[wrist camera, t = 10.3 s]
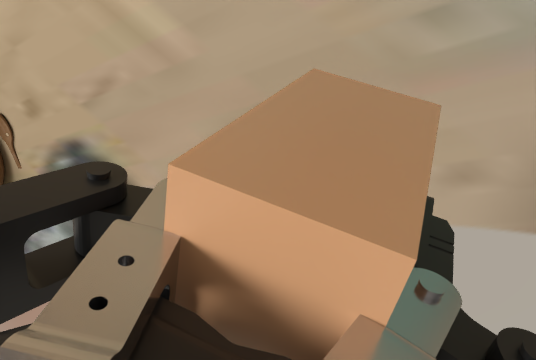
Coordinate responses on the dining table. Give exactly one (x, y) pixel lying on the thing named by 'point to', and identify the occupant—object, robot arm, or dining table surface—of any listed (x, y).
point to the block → (303, 213)
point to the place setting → (1, 129)
